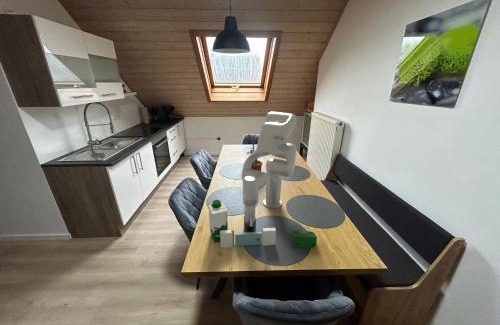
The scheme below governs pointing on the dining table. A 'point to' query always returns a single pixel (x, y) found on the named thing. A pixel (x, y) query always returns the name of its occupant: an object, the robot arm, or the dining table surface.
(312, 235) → the clamp
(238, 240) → the door
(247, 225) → the gray rectangular block
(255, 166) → the potted plant
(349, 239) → the dining table surface
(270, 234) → the white rectangular block
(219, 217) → the milk carton
